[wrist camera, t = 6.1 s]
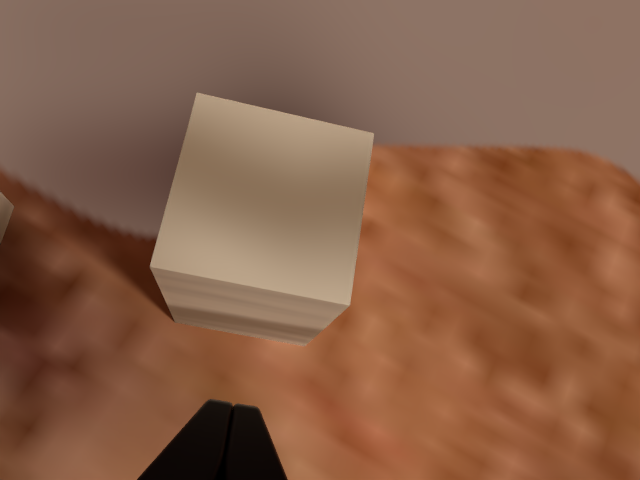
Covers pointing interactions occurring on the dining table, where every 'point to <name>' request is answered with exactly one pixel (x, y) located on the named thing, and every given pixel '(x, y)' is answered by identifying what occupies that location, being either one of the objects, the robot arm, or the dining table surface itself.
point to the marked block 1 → (4, 214)
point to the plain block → (262, 222)
